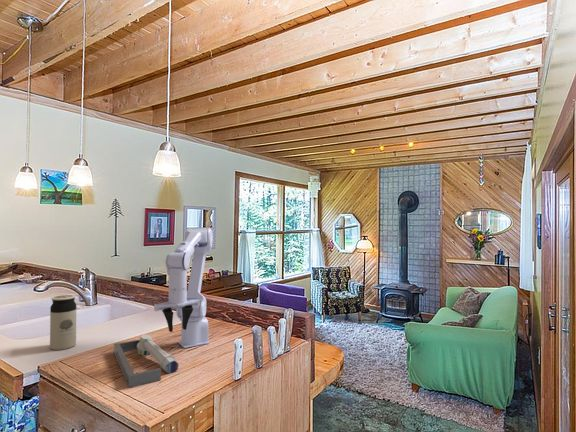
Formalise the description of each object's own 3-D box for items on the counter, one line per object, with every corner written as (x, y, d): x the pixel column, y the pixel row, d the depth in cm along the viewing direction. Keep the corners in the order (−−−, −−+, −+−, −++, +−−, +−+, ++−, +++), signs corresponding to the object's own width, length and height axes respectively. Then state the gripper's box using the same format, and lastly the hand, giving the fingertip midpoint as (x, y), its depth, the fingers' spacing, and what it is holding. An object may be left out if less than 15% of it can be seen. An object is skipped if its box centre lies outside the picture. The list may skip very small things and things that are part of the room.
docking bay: (139, 347, 128) (139, 339, 128) (160, 380, 101) (160, 369, 102) (113, 352, 123) (113, 343, 123) (128, 387, 97) (128, 376, 97)
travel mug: (50, 345, 130) (50, 296, 130) (75, 341, 134) (76, 293, 135) (49, 352, 123) (50, 300, 124) (76, 347, 128) (76, 297, 128)
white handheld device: (164, 363, 104) (135, 331, 123) (163, 384, 105) (134, 350, 124) (181, 358, 108) (150, 328, 126) (179, 379, 109) (149, 346, 127)
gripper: (157, 293, 110) (157, 337, 110) (203, 288, 118) (203, 329, 118) (152, 289, 116) (152, 331, 116) (196, 285, 124) (196, 324, 124)
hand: (177, 330), depth 118 cm, fingers open, 4 cm apart
